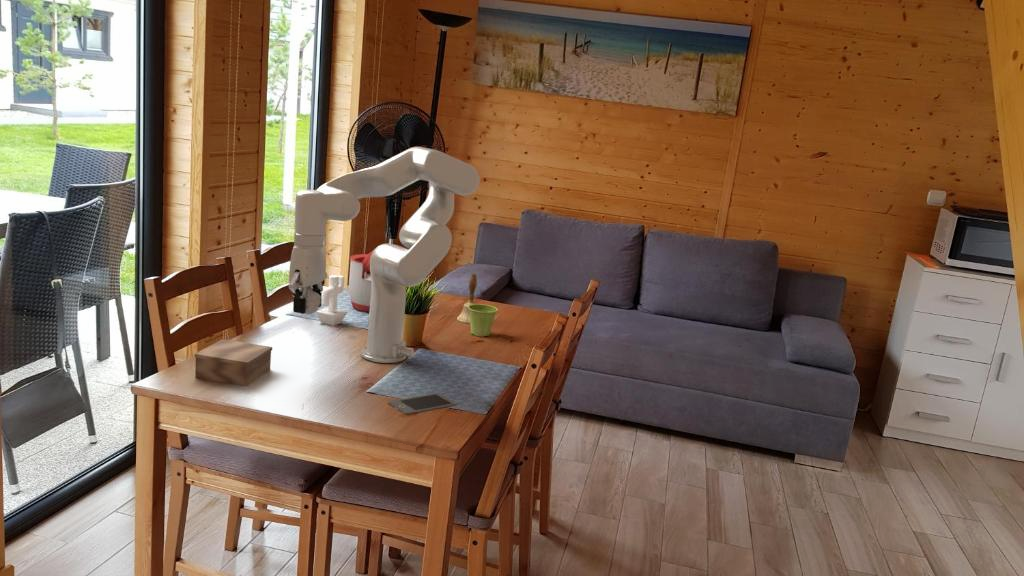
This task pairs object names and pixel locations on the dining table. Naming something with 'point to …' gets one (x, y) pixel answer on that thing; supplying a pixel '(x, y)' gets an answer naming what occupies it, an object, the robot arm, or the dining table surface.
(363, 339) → the dining table surface
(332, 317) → the figurine
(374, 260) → the robot arm
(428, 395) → the smartphone
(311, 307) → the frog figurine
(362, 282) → the citrus juicer
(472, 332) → the plant pot
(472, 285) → the hand bell
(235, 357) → the walnut box
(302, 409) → the dining table surface
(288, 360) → the dining table surface
